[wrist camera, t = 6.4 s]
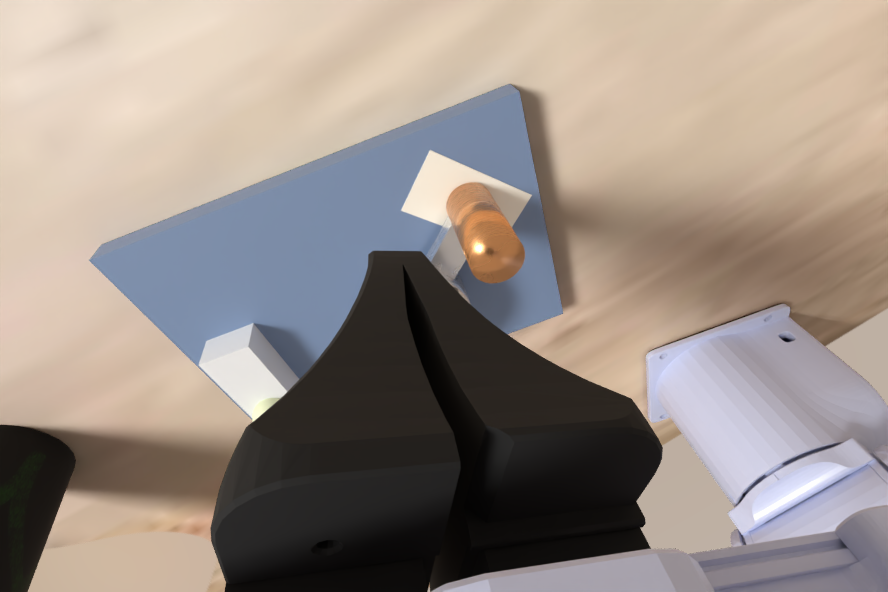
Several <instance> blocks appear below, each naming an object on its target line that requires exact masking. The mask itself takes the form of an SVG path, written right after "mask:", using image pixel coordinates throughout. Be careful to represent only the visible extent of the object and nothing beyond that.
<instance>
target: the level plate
mask: <svg viewBox="0 0 888 592" xmlns="http://www.w3.org/2000/svg"><path fill="white" fill-rule="evenodd" d="M471 182H473V183H479V184H481V185H483V186H485V187H486V188H487V189H488V191H489V192H490V194H491V195H492V197H493V198H494V200H495V202H496V203H497V205H498V206H499V208H500V210H501V211H502V213H503V214H504V216H505V218H506V219H507V221H508V222H509V224H510V226H511V227H512V229H513V230H514V232H515V234H516V235H517V237H518V238H519V240H520V242H521V243H522V245H523V247H524V250H525V260H524V263H523V265H522V267H521V269H520V270H519V271H518V272H517V273H516V274H515V275H514V276H513V277H511V278H510V279H508V280H506V281H503V282H500V283H485V282H482V281H480V280H478V279H477V278H476V277H475V276H474V275H473V273H472V271H471V269H470V267H469V264H468V262H467V259H466V260H465V262H464V264H463V265H462V267H461V269H460V270H459V272H458V275H459V277H460V278H461V280H462V282H463V285H464V287H465V290H466V292H467V295H468V298H469V300H470V303H471V305H472V306H473V307H474V308H475V309H476V310H477V311H478V312H479V313H481V314H482V315H483V316H484V317H485V318H486V319H488V320H489V321H490V322H491V323H493V324H494V325H495V326H497V327H498V328H499V329H501V330H502V331H503V332H505V333H506V334H509V333H512V332H514V331H517V330H520V329H523V328H525V327H528V326H531V325H533V324H536V323H539V322H542V321H544V320H547V319H550V318H552V317H555V316H558V315H561V314H563V310H562V305H561V300H560V295H559V290H558V285H557V280H556V274H555V269H554V264H553V259H552V254H551V249H550V244H549V239H548V234H547V229H546V224H545V219H544V214H543V209H542V204H541V199H540V194H539V189H538V183H537V178H536V173H535V168H534V163H533V158H532V153H531V148H530V143H529V138H528V133H527V128H526V123H525V118H524V113H523V108H522V103H521V97H520V92H519V91H518V90H517V89H516V88H515V87H513V86H512V85H511V84H508V85H505V86H503V87H500V88H498V89H495V90H493V91H490V92H488V93H485V94H482V95H480V96H477V97H475V98H472V99H470V100H467V101H465V102H462V103H460V104H457V105H455V106H452V107H449V108H447V109H444V110H442V111H439V112H437V113H434V114H432V115H429V116H427V117H424V118H422V119H419V120H417V121H414V122H411V123H409V124H406V125H404V126H401V127H399V128H396V129H394V130H391V131H389V132H386V133H384V134H381V135H379V136H376V137H373V138H371V139H368V140H366V141H363V142H361V143H358V144H356V145H353V146H351V147H348V148H346V149H343V150H340V151H338V152H335V153H333V154H330V155H328V156H325V157H323V158H320V159H318V160H315V161H313V162H310V163H308V164H305V165H302V166H300V167H297V168H295V169H292V170H290V171H287V172H285V173H282V174H280V175H277V176H275V177H272V178H270V179H267V180H264V181H262V182H259V183H257V184H254V185H252V186H249V187H247V188H244V189H242V190H239V191H237V192H234V193H232V194H229V195H226V196H224V197H221V198H219V199H216V200H214V201H211V202H209V203H206V204H204V205H201V206H199V207H196V208H193V209H191V210H188V211H186V212H183V213H181V214H178V215H176V216H173V217H171V218H168V219H166V220H163V221H161V222H158V223H155V224H153V225H150V226H148V227H145V228H143V229H140V230H138V231H135V232H133V233H130V234H128V235H125V236H123V237H120V238H117V239H115V240H112V241H110V242H107V243H105V244H102V245H101V246H100V247H99V248H98V250H97V251H96V252H95V254H94V255H93V256H92V257H91V259H90V260H89V261H90V262H91V263H92V264H93V265H94V266H95V267H96V268H98V269H99V270H100V271H101V272H102V273H103V274H104V275H105V276H106V277H107V278H108V279H109V280H110V281H111V282H112V283H113V284H114V285H115V286H116V287H117V288H118V289H119V290H120V291H121V292H122V293H123V294H124V295H125V296H126V297H127V298H128V299H129V300H130V301H131V302H132V303H133V304H134V305H135V306H136V307H137V308H138V309H139V310H140V311H141V312H142V313H143V314H144V315H146V316H147V317H148V318H149V319H150V320H151V321H152V322H153V323H154V324H155V325H156V326H157V327H158V328H159V329H160V330H161V331H162V332H163V333H164V334H165V335H166V336H167V337H168V338H169V339H170V340H171V341H172V342H173V343H174V344H175V345H176V346H177V347H178V348H179V349H180V350H181V351H182V352H183V353H184V354H185V355H186V356H187V357H188V358H189V359H190V360H191V361H192V362H194V363H195V364H196V365H197V366H198V367H199V368H200V369H201V370H202V371H203V372H204V373H205V374H206V375H207V376H208V377H209V378H210V379H211V380H212V381H213V382H214V383H215V384H216V385H217V386H218V387H219V388H220V389H221V390H222V391H223V392H224V393H225V394H226V395H227V396H228V397H229V398H230V399H231V400H232V401H233V402H234V403H235V404H236V405H237V406H238V407H239V408H240V409H241V410H243V411H244V412H245V413H246V414H247V415H248V416H249V417H250V418H251V419H252V420H253V421H255V420H256V419H257V418H258V417H259V416H260V415H262V414H263V413H264V412H265V411H266V410H268V409H269V408H270V407H271V406H272V405H273V404H275V403H276V402H277V401H278V400H279V399H280V398H281V397H282V396H284V395H285V394H286V393H287V392H288V391H289V390H290V389H291V388H292V386H293V385H294V384H295V383H296V382H297V381H298V380H299V379H300V378H301V377H302V376H303V375H304V374H305V373H306V372H307V371H308V370H309V369H310V368H311V367H312V365H313V364H314V363H315V362H316V361H317V359H318V358H319V357H320V356H321V354H322V353H323V352H324V350H325V349H326V348H327V347H328V345H329V344H330V343H331V341H332V340H333V338H334V337H335V335H336V334H337V332H338V331H339V329H340V328H341V326H342V324H343V323H344V321H345V319H346V318H347V316H348V314H349V312H350V310H351V308H352V306H353V304H354V302H355V300H356V298H357V296H358V294H359V291H360V289H361V286H362V284H363V281H364V278H365V275H366V272H367V268H368V254H369V253H371V252H372V251H422V253H423V254H424V255H425V256H426V255H427V253H428V251H429V249H430V248H431V246H432V244H433V242H434V240H435V238H436V237H437V235H438V233H439V231H440V229H441V227H442V226H443V224H444V222H445V220H446V218H447V216H448V214H447V211H446V203H447V199H448V197H449V195H450V194H451V192H452V191H453V190H454V189H455V188H457V187H458V186H460V185H462V184H465V183H471Z"/></svg>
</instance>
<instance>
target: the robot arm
mask: <svg viewBox="0 0 888 592" xmlns="http://www.w3.org/2000/svg"><path fill="white" fill-rule="evenodd" d="M789 314H790V307H789V306H787V305H786V304H779V305H777V306H774V307H771V308H768V309H766V310H763V311H760V312H757V313H754V314H752V315H749V316H746V317H743V318H741V319H738V320H735V321H732V322H729V323H727V324H724V325H721V326H718V327H716V328H713V329H710V330H707V331H704V332H702V333H699V334H696V335H693V336H691V337H688V338H685V339H682V340H679V341H677V342H674V343H671V344H668V345H665V346H663V347H660V348H657V349H654V350H652V351H650V352H649V353H648V354H647V355H646V375H647V401H648V418H649V420H650V421H651V422H653V423H655V422H659V421H661V420H664V419H667V418H670V417H671V419H672V420H673V422H674V423H675V425H676V426H677V427H678V429H679V430H680V432H681V433H682V434H683V436H684V437H685V439H686V440H687V441H688V443H689V444H690V446H691V447H692V448H693V450H694V451H695V453H696V454H697V455H698V457H699V458H700V460H701V461H702V463H703V464H704V465H705V467H706V468H707V469H708V471H709V472H710V474H711V475H712V477H713V478H714V479H715V481H716V482H717V484H718V485H719V486H720V488H721V489H722V491H723V492H724V493H725V495H726V496H727V498H728V499H729V501H730V502H731V503H732V505H733V506H734V509H732V510H731V511H729V512H728V515H729V517H730V518H731V520H732V521H733V523H734V524H735V526H736V527H737V529H736V530H734V531H733V532H732V533H731V544H732V547H729V548H723V549H716V550H710V551H703V552H697V553H690V554H687V553H685V552H682V551H680V550H678V549H651V548H650V546H649V544H648V542H647V540H646V538H645V536H644V535H643V533H642V531H641V529H640V527H643V526H644V525H645V517H644V515H643V513H642V512H641V510H640V508H639V506H638V504H637V502H636V501H637V499H638V498H639V497H640V495H641V494H642V492H643V491H644V489H645V488H646V486H647V485H648V483H649V482H650V480H651V479H652V477H653V476H654V475H655V473H656V471H657V469H658V467H659V465H660V462H661V460H662V449H663V448H662V445H661V443H660V441H659V439H658V437H657V436H656V434H655V433H654V431H653V430H652V428H651V427H650V425H649V424H648V422H647V420H646V419H645V417H644V416H643V414H642V413H641V411H640V410H639V409H638V407H637V406H636V404H635V403H634V402H633V400H632V399H631V398H628V397H626V396H624V395H621V394H619V393H616V392H614V391H612V390H609V389H607V388H604V387H602V386H599V385H597V384H595V383H592V382H590V381H588V380H585V379H583V378H581V377H579V376H577V375H575V374H573V373H571V372H569V371H567V370H565V369H563V368H561V367H559V366H557V365H556V364H554V363H552V362H550V361H548V360H546V359H545V358H543V357H541V356H540V355H538V354H536V353H535V352H533V351H532V350H530V349H528V348H527V347H525V346H523V345H522V344H520V343H519V342H517V341H516V340H514V339H513V338H511V337H510V336H509V335H507V334H506V333H505V332H503V331H502V330H501V329H499V328H498V327H497V326H495V325H494V324H493V323H491V322H490V321H489V320H488V319H486V318H485V317H484V316H483V315H482V314H481V313H479V312H478V311H477V310H476V309H475V308H474V307H473V306H472V305H471V304H469V303H468V302H467V301H466V300H465V299H464V298H463V297H462V296H461V295H460V294H459V293H458V292H457V291H456V290H455V289H454V288H453V287H452V285H451V284H450V283H449V282H448V281H447V280H446V279H445V278H444V277H443V276H442V274H441V273H440V272H439V271H438V270H437V269H436V268H435V266H434V265H433V264H432V263H431V262H430V260H429V259H428V258H427V257H426V256H425V255H424V254H423V253H422V251H372V252H371V253H369V254H368V268H367V272H366V275H365V278H364V281H363V284H362V286H361V289H360V291H359V294H358V296H357V298H356V300H355V302H354V304H353V306H352V308H351V310H350V312H349V314H348V316H347V318H346V319H345V321H344V323H343V324H342V326H341V328H340V329H339V331H338V332H337V334H336V335H335V337H334V338H333V340H332V341H331V343H330V344H329V345H328V347H327V348H326V349H325V350H324V352H323V353H322V354H321V356H320V357H319V358H318V359H317V361H316V362H315V363H314V364H313V365H312V367H311V368H310V369H309V370H308V371H307V372H306V373H305V374H304V375H303V376H302V377H301V378H300V379H299V380H298V381H297V382H296V383H295V384H294V385H293V386H292V388H291V389H290V390H289V391H288V392H287V393H286V394H285V395H284V396H282V397H281V398H280V399H279V400H278V401H277V402H276V403H275V404H273V405H272V406H271V407H270V408H269V409H268V410H266V411H265V412H264V413H263V414H262V415H260V416H259V417H258V418H257V419H256V420H255V421H253V422H252V423H251V424H250V425H248V426H247V427H246V429H245V431H244V433H243V435H242V437H241V439H240V441H239V443H238V445H237V447H236V449H235V451H234V453H233V455H232V458H231V460H230V462H229V465H228V467H227V470H226V472H225V475H224V478H223V481H222V484H221V487H220V490H219V493H218V498H217V502H216V506H215V511H214V516H213V520H212V525H211V541H212V544H213V547H214V550H215V553H216V555H217V558H218V561H219V564H220V567H221V569H222V572H223V575H224V578H225V581H226V587H225V592H427V590H428V586H429V582H430V592H888V406H887V405H886V403H885V402H884V400H883V399H882V397H881V396H880V395H879V394H878V392H877V391H876V390H875V389H874V388H873V387H872V386H871V385H870V384H869V382H867V381H866V380H865V379H864V378H863V377H862V376H861V375H859V374H858V373H857V372H856V371H854V370H853V369H852V368H851V367H850V366H848V365H847V364H846V363H845V362H844V361H842V360H841V359H840V358H839V357H837V356H836V355H835V354H834V353H832V352H831V351H830V350H829V349H828V348H826V347H825V346H824V345H823V344H821V343H820V342H819V341H818V340H817V339H815V338H814V337H813V336H812V335H810V334H809V333H808V332H807V331H806V330H804V329H803V328H802V327H801V326H799V325H798V324H797V323H796V322H795V321H793V320H792V319H791V318H790V317H789Z"/></svg>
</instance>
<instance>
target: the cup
mask: <svg viewBox="0 0 888 592" xmlns="http://www.w3.org/2000/svg"><path fill="white" fill-rule="evenodd" d="M75 461H76V460H75V457H74V454H73V452H72V451H71V450H70V448H69V447H68V446H67V445H65V444H64V443H63V442H61V441H60V440H58V439H56V438H54V437H52V436H50V435H48V434H46V433H43V432H40V431H37V430H34V429H29V428H24V427H19V426H7V425H0V592H28V589H29V586H30V584H31V581H32V578H33V576H34V573H35V570H36V568H37V565H38V562H39V560H40V557H41V554H42V552H43V549H44V547H45V544H46V541H47V539H48V536H49V533H50V531H51V528H52V525H53V523H54V520H55V517H56V515H57V512H58V509H59V507H60V504H61V501H62V499H63V496H64V493H65V491H66V488H67V485H68V483H69V480H70V478H71V475H72V472H73V470H74V466H75Z"/></svg>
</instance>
